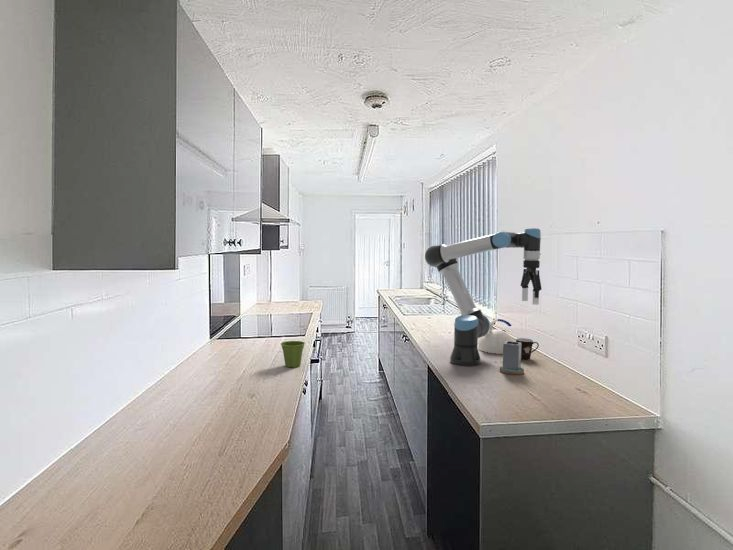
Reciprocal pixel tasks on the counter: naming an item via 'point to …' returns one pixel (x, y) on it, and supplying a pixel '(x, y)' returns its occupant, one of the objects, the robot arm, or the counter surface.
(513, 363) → the grey square holder
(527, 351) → the coffee mug
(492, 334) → the kettle
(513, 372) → the post stand
